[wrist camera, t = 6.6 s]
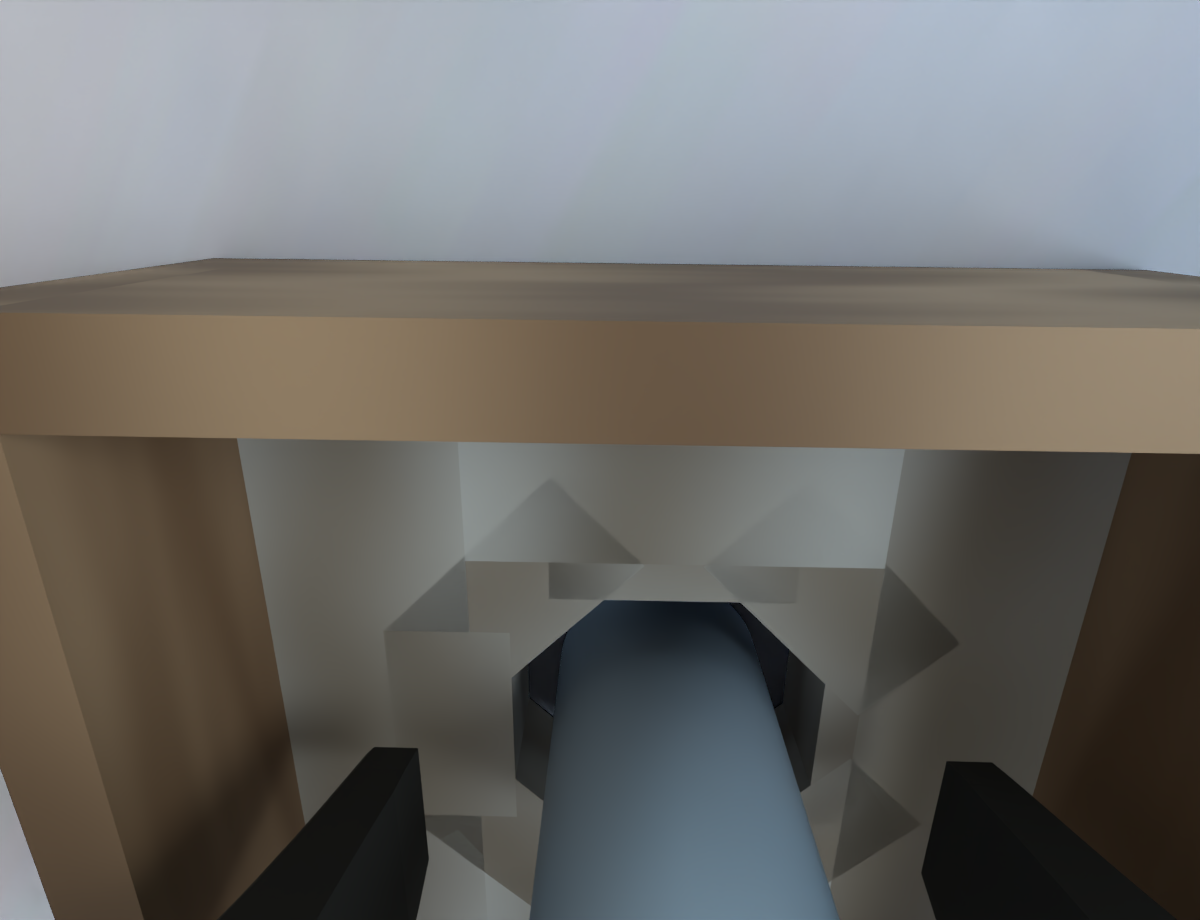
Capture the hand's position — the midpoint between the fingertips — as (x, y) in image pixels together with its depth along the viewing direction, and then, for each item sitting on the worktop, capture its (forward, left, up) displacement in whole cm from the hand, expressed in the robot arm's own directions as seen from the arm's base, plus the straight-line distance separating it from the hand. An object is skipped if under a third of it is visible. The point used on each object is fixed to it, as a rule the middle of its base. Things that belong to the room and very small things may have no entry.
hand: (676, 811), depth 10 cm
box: (0, 0, -4) cm, 4 cm away
